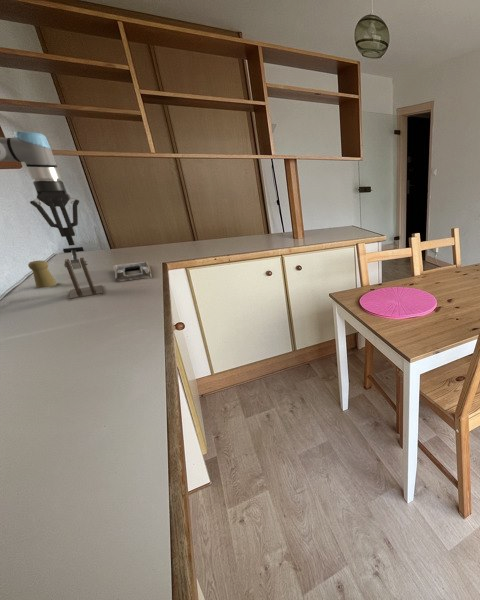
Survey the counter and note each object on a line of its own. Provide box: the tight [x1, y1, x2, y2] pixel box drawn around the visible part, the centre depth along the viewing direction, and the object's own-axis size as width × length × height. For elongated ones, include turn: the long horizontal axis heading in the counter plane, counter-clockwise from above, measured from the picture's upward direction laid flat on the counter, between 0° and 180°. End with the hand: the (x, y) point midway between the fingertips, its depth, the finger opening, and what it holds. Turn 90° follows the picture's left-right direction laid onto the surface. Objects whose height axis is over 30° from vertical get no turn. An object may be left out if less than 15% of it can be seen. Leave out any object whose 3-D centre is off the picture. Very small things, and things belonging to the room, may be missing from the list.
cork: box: [27, 260, 58, 289], centre depth 126 cm, size 6×6×11 cm
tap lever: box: [62, 246, 85, 270], centre depth 120 cm, size 13×6×2 cm, turn 42°
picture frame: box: [112, 261, 152, 282], centre depth 145 cm, size 13×25×3 cm, turn 41°
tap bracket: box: [63, 257, 103, 300], centre depth 119 cm, size 12×9×14 cm
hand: (71, 244), depth 122 cm, fingers closed
